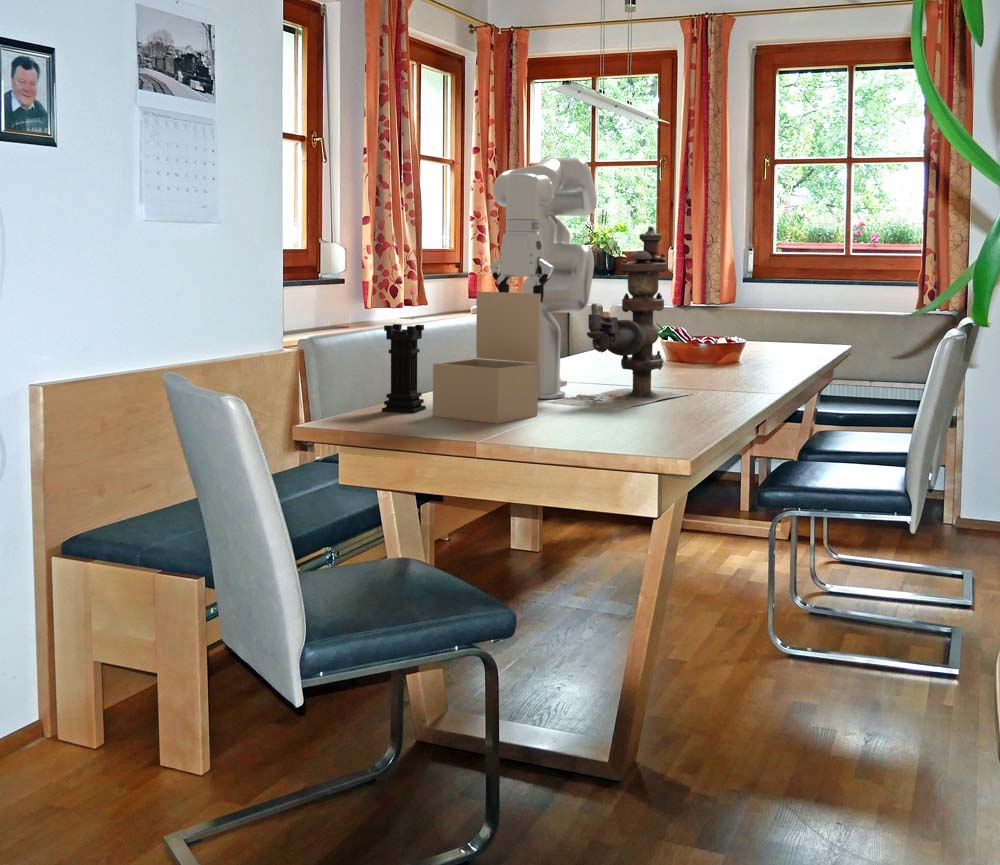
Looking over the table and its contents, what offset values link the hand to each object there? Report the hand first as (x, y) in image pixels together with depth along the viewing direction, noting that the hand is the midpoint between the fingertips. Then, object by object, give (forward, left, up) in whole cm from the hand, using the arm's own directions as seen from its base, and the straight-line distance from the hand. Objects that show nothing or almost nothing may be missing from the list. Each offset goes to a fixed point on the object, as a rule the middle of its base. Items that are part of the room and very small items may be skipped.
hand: (520, 301), depth 263 cm
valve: (-37, +8, -26) cm, 46 cm away
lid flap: (+6, 0, -6) cm, 8 cm away
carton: (+14, 0, -26) cm, 29 cm away
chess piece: (+19, -20, -26) cm, 38 cm away
